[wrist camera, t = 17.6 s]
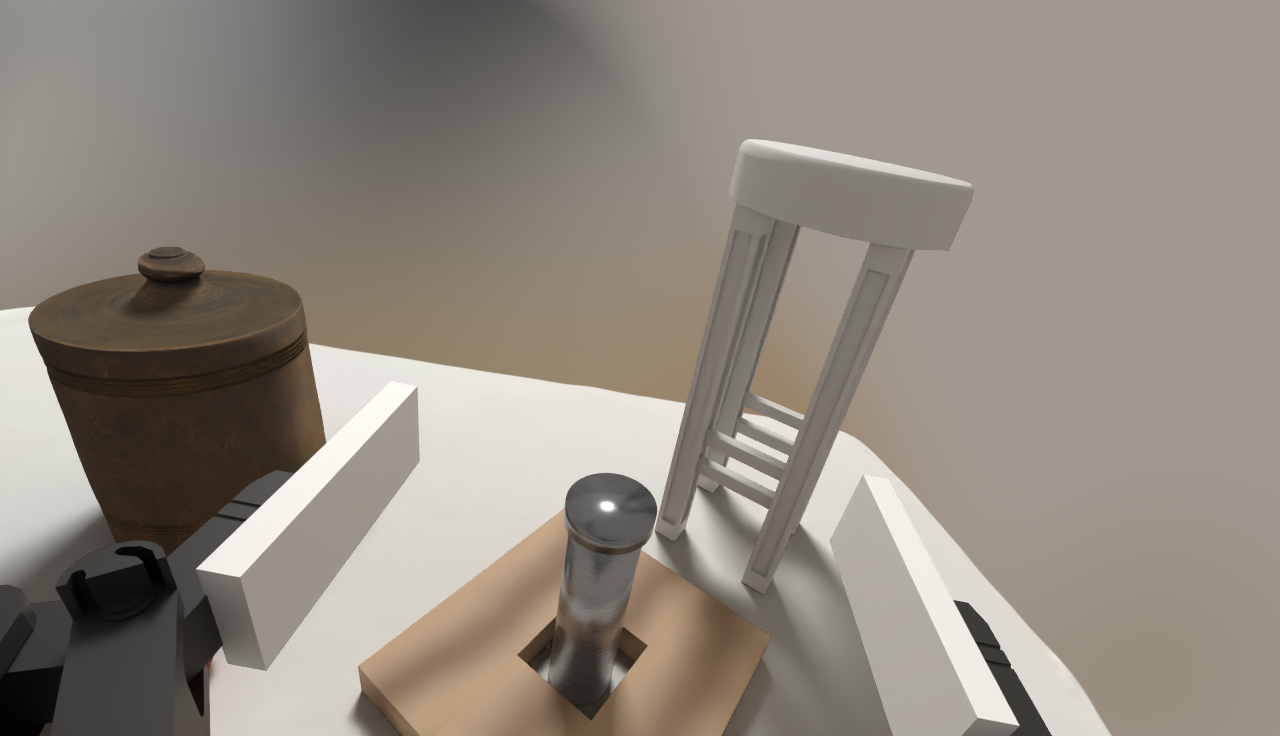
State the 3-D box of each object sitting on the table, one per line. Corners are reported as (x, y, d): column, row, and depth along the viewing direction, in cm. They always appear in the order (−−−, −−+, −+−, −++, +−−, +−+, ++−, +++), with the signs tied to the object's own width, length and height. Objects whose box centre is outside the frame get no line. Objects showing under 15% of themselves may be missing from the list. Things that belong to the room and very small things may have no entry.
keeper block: (361, 689, 33) (358, 666, 32) (568, 523, 49) (570, 503, 47) (604, 967, 24) (611, 949, 23) (762, 656, 40) (771, 636, 39)
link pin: (526, 677, 36) (546, 503, 28) (576, 625, 40) (604, 461, 32) (584, 729, 33) (621, 555, 26) (630, 668, 37) (673, 503, 30)
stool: (696, 457, 61) (783, 141, 45) (823, 521, 55) (978, 181, 39) (625, 532, 49) (710, 133, 33) (779, 625, 43) (978, 191, 26)
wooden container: (255, 427, 53) (208, 211, 43) (367, 480, 49) (345, 257, 39) (66, 518, 40) (-65, 242, 30) (197, 598, 36) (98, 314, 26)
